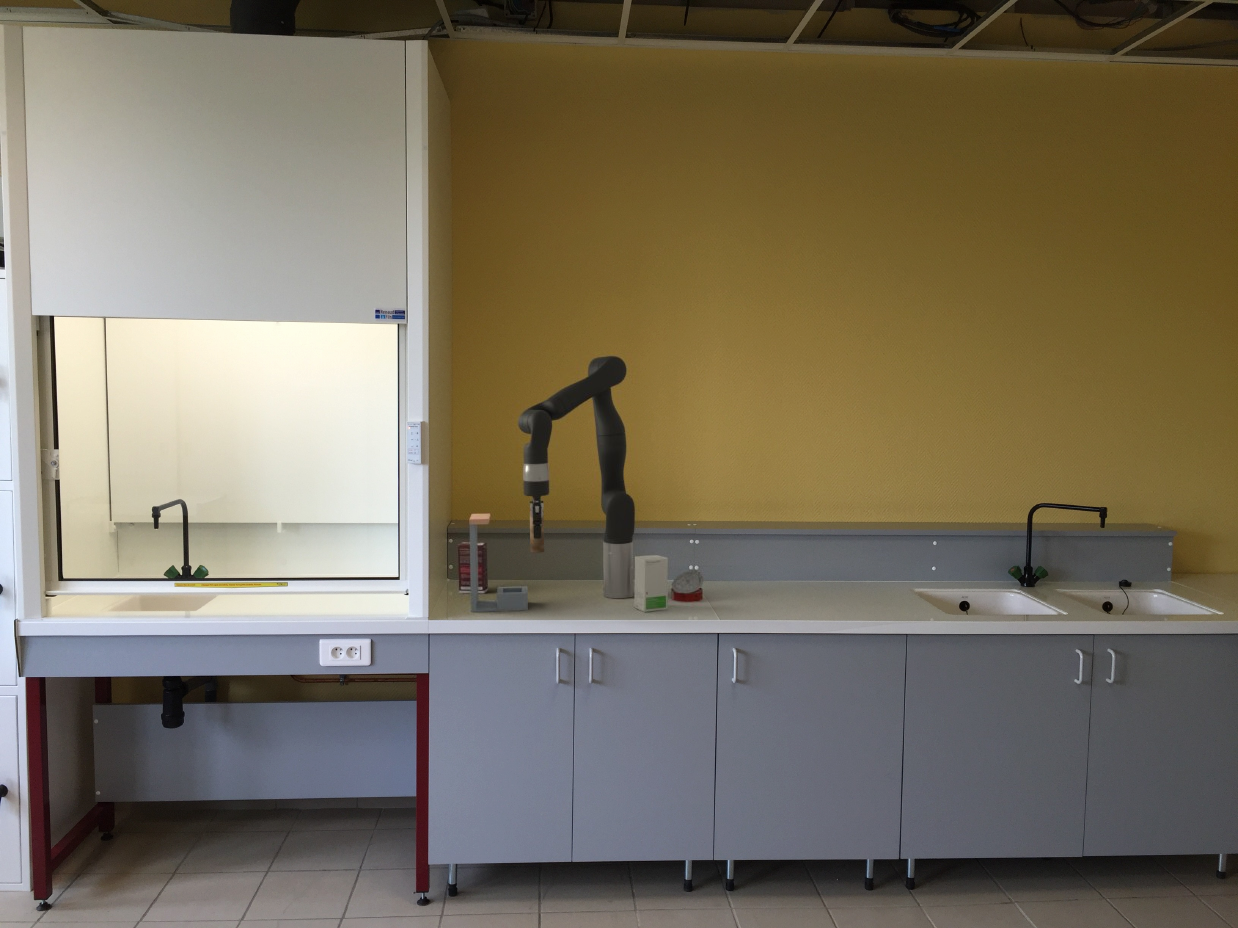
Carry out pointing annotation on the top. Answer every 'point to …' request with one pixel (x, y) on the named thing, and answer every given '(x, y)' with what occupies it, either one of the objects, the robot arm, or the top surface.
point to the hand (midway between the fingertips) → (537, 536)
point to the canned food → (687, 587)
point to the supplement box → (465, 567)
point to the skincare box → (651, 583)
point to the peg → (536, 544)
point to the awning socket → (505, 595)
